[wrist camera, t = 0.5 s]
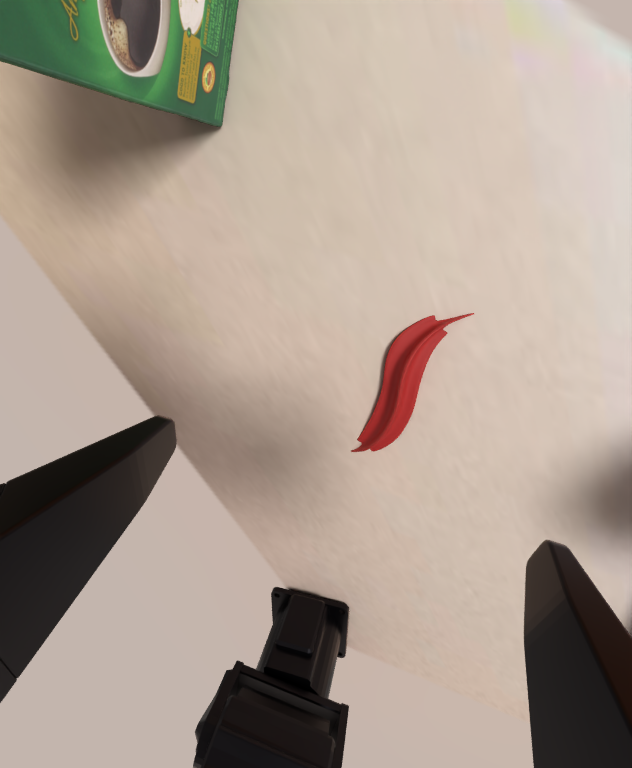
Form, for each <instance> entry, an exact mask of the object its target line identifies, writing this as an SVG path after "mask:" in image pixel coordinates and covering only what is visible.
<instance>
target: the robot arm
mask: <svg viewBox="0 0 632 768" xmlns="http://www.w3.org/2000/svg"><path fill="white" fill-rule="evenodd" d="M175 448H176V431H175V423H174V421H173V420H172V419H170V418H167V417H164V416H160V415H158V416H154V417H152V418H150V419H148V420H145V421H143V422H141V423H138V424H136V425H134V426H132V427H130V428H127V429H125V430H123V431H120V432H118V433H116V434H114V435H111V436H109V437H107V438H105V439H102V440H100V441H98V442H96V443H93V444H91V445H89V446H87V447H84V448H82V449H80V450H77V451H75V452H73V453H71V454H68V455H67V456H64V457H62V458H59V459H57V460H55V461H53V462H50V463H48V464H46V465H44V466H41V467H39V468H37V469H34V470H32V471H30V472H28V473H25V474H23V475H21V476H19V477H16V478H14V479H12V480H10V481H8V482H7V483H6V484H5V483H3V484H0V703H1V701H2V700H3V699H4V697H5V696H6V694H7V693H8V692H9V690H10V689H11V688H12V686H13V685H14V683H15V682H16V680H17V679H16V678H18V677H19V676H20V675H21V673H22V672H23V670H24V669H25V668H26V666H27V665H28V664H29V662H30V661H31V660H32V658H33V657H34V655H35V654H36V652H37V651H38V650H39V648H40V647H41V646H42V644H43V643H44V641H45V640H46V639H47V637H48V636H49V634H50V633H51V632H52V630H53V629H54V628H55V626H56V625H57V624H58V622H59V621H60V619H61V618H62V617H63V615H64V614H65V612H66V611H67V610H68V608H69V607H70V606H71V604H72V603H73V601H74V600H75V598H76V597H77V596H78V594H79V593H80V592H81V590H82V589H83V588H84V586H85V585H86V583H87V582H88V581H89V579H90V578H91V576H92V575H93V574H94V572H95V571H96V570H97V568H98V567H99V565H100V564H101V563H102V561H103V560H104V558H105V557H106V556H107V554H108V553H109V551H110V550H111V549H112V547H113V546H114V545H115V543H116V542H117V540H118V539H119V538H120V536H121V535H122V533H123V532H124V531H125V529H126V528H127V527H128V525H129V524H130V523H131V521H132V520H133V518H134V517H135V516H136V514H137V513H138V511H139V510H140V508H141V507H142V506H143V504H144V503H145V501H146V500H147V498H148V496H149V495H150V493H151V491H152V489H153V488H154V485H155V484H156V482H157V480H158V479H159V477H160V475H161V474H162V471H163V470H164V468H165V467H166V465H167V463H168V461H169V459H170V458H171V456H172V454H173V452H174V450H175ZM271 597H272V616H273V626H272V628H271V631H270V633H269V636H268V639H267V641H266V644H265V647H264V649H263V652H262V655H261V657H260V660H259V663H258V666H257V668H256V669H253V668H251V667H249V666H246V665H244V663H243V662H240V661H236V664H235V666H234V668H233V669H232V670H227V671H226V673H225V675H224V677H223V680H222V682H221V684H220V686H219V689H218V691H217V693H216V695H215V697H214V698H213V700H212V702H211V703H210V705H209V706H208V708H207V710H206V712H205V713H204V715H203V716H202V718H201V720H200V721H199V723H198V725H197V728H196V731H195V735H196V739H197V743H198V744H197V748H196V756H195V760H194V764H193V768H341V767H342V760H343V751H344V743H345V735H346V726H347V718H348V709H349V706H348V705H345V704H343V703H342V704H339V703H337V702H334V701H332V700H329V699H328V697H329V692H330V687H331V683H332V678H333V674H334V669H335V664H336V660H337V657H340V658H343V657H345V654H346V646H347V633H348V619H349V607H348V606H347V605H346V604H343V603H339V602H335V601H331V600H327V599H323V598H319V597H315V596H311V595H307V594H303V593H299V592H295V591H291V590H287V589H283V588H279V587H275V588H274V589H273V591H272V593H271ZM524 649H525V662H526V675H527V687H528V700H529V712H530V725H531V737H532V748H533V749H532V750H533V763H534V768H632V637H631V636H630V635H629V633H628V632H627V630H626V629H625V627H624V626H623V625H622V623H621V622H620V620H619V619H618V618H617V616H616V615H615V613H614V612H613V610H612V609H611V608H610V606H609V605H608V603H607V602H606V600H605V599H604V598H603V596H602V595H601V593H600V592H599V591H598V589H597V588H596V586H595V585H594V583H593V582H592V581H591V579H590V578H589V576H588V575H587V573H586V572H585V571H584V569H583V568H582V566H581V565H580V564H579V562H578V561H577V559H576V558H575V556H574V555H573V554H572V552H571V551H570V549H569V548H568V547H567V546H565V545H563V544H560V543H557V542H554V541H551V540H545V541H544V542H542V544H541V545H540V546H539V547H538V548H537V550H536V551H535V552H534V553H533V554H532V556H531V557H530V558H529V560H528V562H527V566H526V582H525V611H524Z"/></svg>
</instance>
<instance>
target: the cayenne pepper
mask: <svg viewBox="0 0 632 768" xmlns="http://www.w3.org/2000/svg"><path fill="white" fill-rule="evenodd" d="M472 314H474V313H472ZM472 314H467V315H462V316H458V317H454V318H450V319H445V320H440V321H437V320H435V316H434V315H433V316H429V317H427V318H424V319H422V320H420V321H418V322H416V323H415V324H413V325H411V326H410V327H408V328H407V329H406V330H405V331H403V332H402V333H401V334H400V335H399V336H398V337H397V338H396V340H395V341H394V342H393V344H392V346H391V348H390V350H389V352H388V355H387V358H386V363H385V369H384V379H383V385H382V390H381V394H380V397H379V400H378V402H377V405H376V407H375V410H374V412H373V414H372V416H371V418H370V420H369V422H368V424H367V425H366V427H365V429H364V430H363V432H362V433H361V435H360V436H359V438H358V439H357V440H358V441H360V442H361V443H362V445H361V446H360V447H359V448H357V449H355V450H352V451H351V452H360V451H365V450H368V449H371V450H372V451H377V450H380V449H382V448H384V447H386V446H388V445H389V444H391V443H392V442H393V441H394V440H395V439H397V438H398V437H399V435H400V434H401V433H402V431H403V430H404V428H405V427H406V425H407V423H408V421H409V419H410V417H411V415H412V412H413V409H414V406H415V402H416V398H417V394H418V389H419V385H420V382H421V378H422V375H423V372H424V369H425V367H426V364H427V362H428V359H429V357H430V355H431V354H432V352H433V350H434V349H435V347H436V346H437V344H438V343H439V342H440V341H441V340H442V338H443V337H444V336H446V334H447V332H446V331H444V330H443V328H444V327H445V326H447V325H448V324H450V323H452V322H455V321H457V320H460V319H462V318H465V317H467V316H470V315H472Z"/></svg>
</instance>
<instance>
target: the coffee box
mask: <svg viewBox="0 0 632 768" xmlns="http://www.w3.org/2000/svg"><path fill="white" fill-rule="evenodd" d="M238 1H239V0H0V61H1V62H5V63H9V64H12V65H15V66H18V67H21V68H24V69H28V70H31V71H34V72H37V73H40V74H44V75H47V76H50V77H53V78H56V79H59V80H62V81H66V82H69V83H72V84H75V85H79V86H82V87H85V88H88V89H91V90H95V91H98V92H101V93H104V94H107V95H110V96H113V97H116V98H120V99H123V100H126V101H129V102H133V103H137V104H141V105H144V106H147V107H150V108H154V109H157V110H162V111H165V112H169V113H173V114H177V115H180V116H183V117H188V118H190V119H195V120H198V121H199V122H203V123H207V124H209V125H213V126H217V127H221V126H222V122H223V113H224V107H225V99H226V95H227V91H228V84H229V67H230V59H231V51H232V45H233V37H234V30H235V23H236V14H237V8H238Z"/></svg>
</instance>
